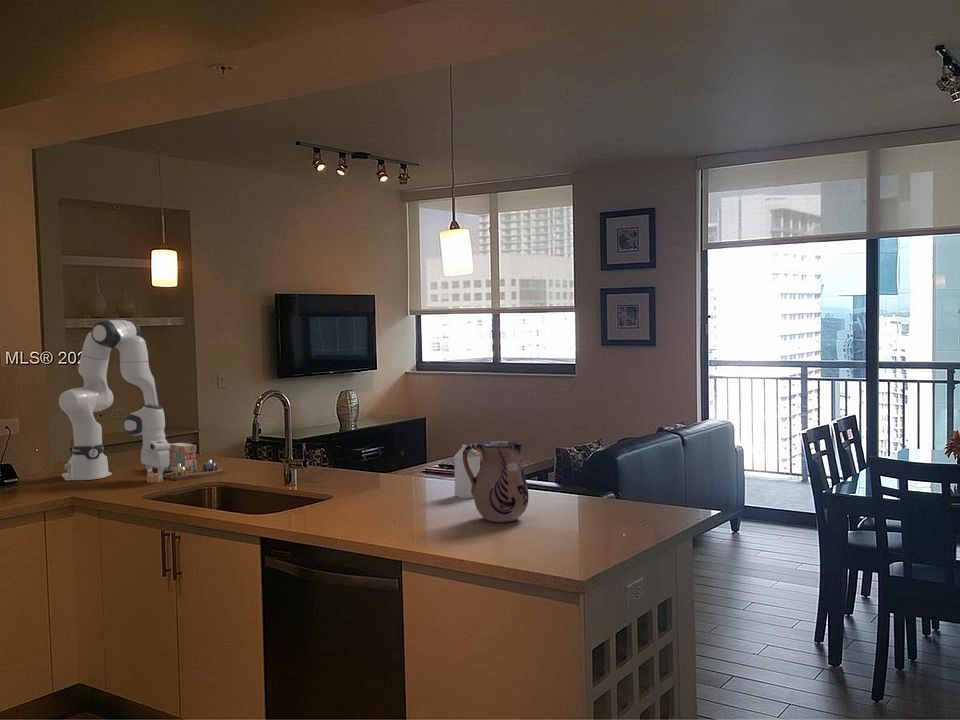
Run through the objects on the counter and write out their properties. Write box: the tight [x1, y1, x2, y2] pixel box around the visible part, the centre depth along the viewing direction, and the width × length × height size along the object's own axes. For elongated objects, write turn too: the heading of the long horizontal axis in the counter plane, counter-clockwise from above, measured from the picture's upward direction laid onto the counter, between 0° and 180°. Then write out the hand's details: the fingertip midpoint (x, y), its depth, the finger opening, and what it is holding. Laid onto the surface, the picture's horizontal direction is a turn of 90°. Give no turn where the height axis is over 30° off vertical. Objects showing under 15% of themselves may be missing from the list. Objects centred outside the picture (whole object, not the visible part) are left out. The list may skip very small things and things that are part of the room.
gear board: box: [163, 459, 226, 481], centre depth 365 cm, size 12×22×6 cm, turn 134°
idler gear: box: [146, 472, 164, 484], centre depth 352 cm, size 6×6×3 cm
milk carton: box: [453, 444, 481, 500], centre depth 313 cm, size 7×7×19 cm
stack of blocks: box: [156, 442, 197, 472], centre depth 380 cm, size 21×6×12 cm, turn 54°
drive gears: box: [171, 459, 219, 475], centre depth 365 cm, size 6×20×4 cm, turn 134°
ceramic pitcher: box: [463, 440, 530, 523], centre depth 273 cm, size 18×21×25 cm
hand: (155, 476), depth 352 cm, fingers open, 8 cm apart
